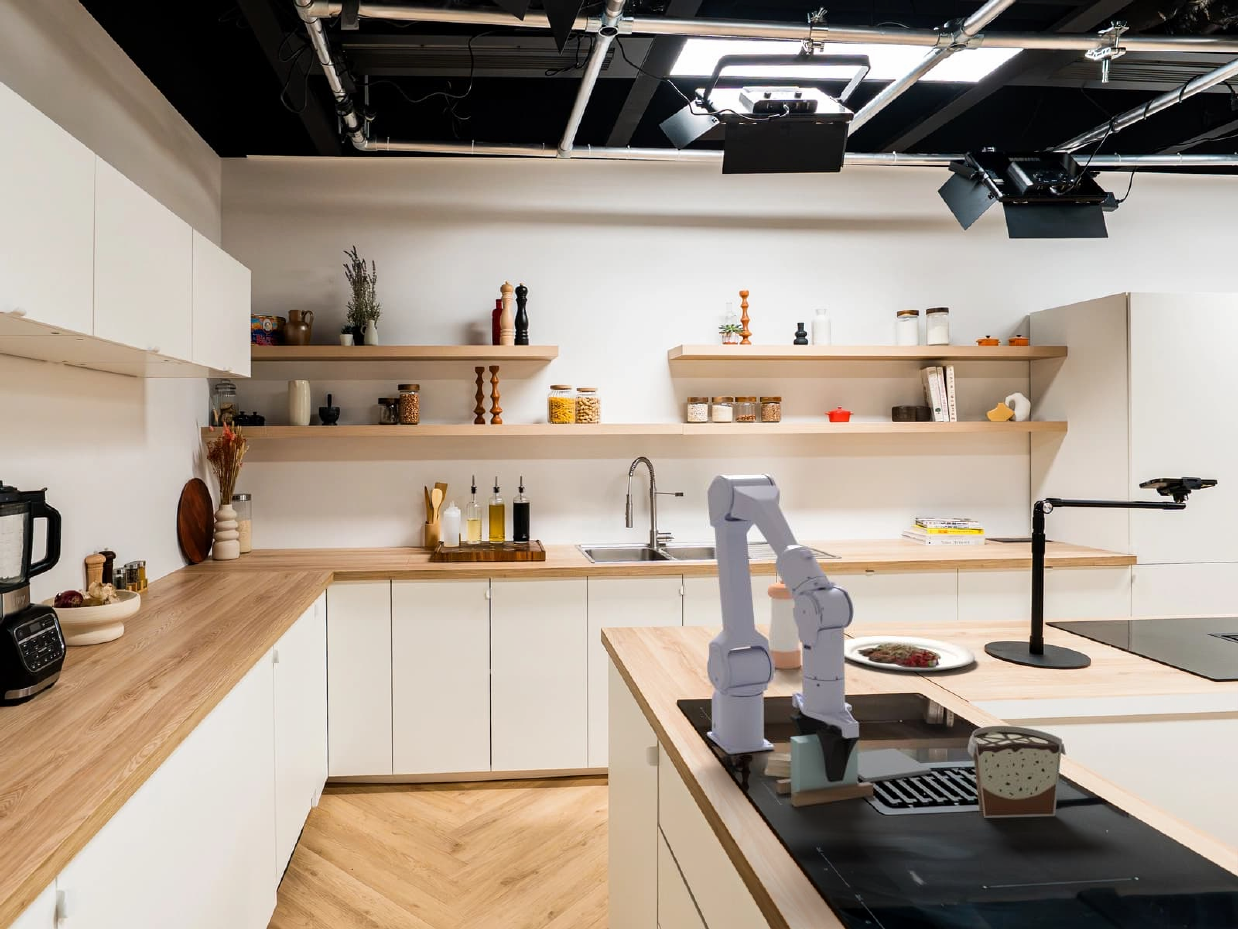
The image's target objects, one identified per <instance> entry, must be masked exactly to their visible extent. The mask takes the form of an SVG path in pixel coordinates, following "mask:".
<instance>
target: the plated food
mask: <svg viewBox="0 0 1238 929" xmlns="http://www.w3.org/2000/svg"><path fill="white" fill-rule="evenodd" d="M844 658H847V659H849V660H852V661H856V662H858V663H861V664H865V665H868V666H872V667H876V668H883V669H888V670H896V671H905V672H906V671H908V672H934V671H935V672H936V671H944V670H948V669H954V668H960V667H963V666H967V665H970V664H972V663H973V662H975V659H976V655H975V653H974V652H972V651H971V650H970V649H968V648H966V647H963V646H960V645H957V644H954V643H950V642H946V641H941V640H938V639H937V640H935V639H931V638H929V639H928V638H923V637H914V636H895V635H880V636H879V635H877V636H875V635H873V636H864V637H863V636H861V637H854V638H850V639H847V640H844Z"/></svg>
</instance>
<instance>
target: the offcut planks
mask: <svg viewBox="0 0 1238 929" xmlns="http://www.w3.org/2000/svg"><path fill="white" fill-rule="evenodd" d="M764 776H772V777H773V776H774V777H783V778H791V754H786V753H785V754H784V753H774V752H769V755H768V758H767V763H766V765H765V770H764Z"/></svg>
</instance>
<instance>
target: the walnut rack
mask: <svg viewBox="0 0 1238 929" xmlns="http://www.w3.org/2000/svg"><path fill="white" fill-rule="evenodd" d="M776 793H778V794H780V795H781V794H789V793H790V797H791V798H790V800H791V801H790V804H791V805H792V806H793V807H802V806H808V805H809V806H810V805H816V804H825V803H829V802H837V801H845V800H850V799H851V800H852V799H859V798H865V797H872V796H874V784H873V783H871V782H864V781H863V782H858V783H857V784H850V785H843V786H835V787H828V788H821V789H814V790H806V791H799V792H792V793H791V778H784V779H778V780H776Z"/></svg>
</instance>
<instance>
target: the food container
mask: <svg viewBox="0 0 1238 929" xmlns="http://www.w3.org/2000/svg"><path fill="white" fill-rule="evenodd" d="M967 752H968V754H969V755H970V757H972V758H973V761H974V762H973V763H974V771H975V780H976V781H975V782H976V790H977V800H978V806H979V807H978V809H979V812H980V815H981V816H982V817H983V819H987V818H988V819H989V818H990V819H991V818H992V819H993V818H994V819H995V818H1027V817H1028V818H1030V817H1034V818H1035V817H1055V816H1056V808H1057V797H1058V789H1059V777H1060V768H1061V767H1060V766H1061V758H1062V756H1061V755H1062V754H1063V755H1064V756H1066V755H1067V754H1066V748H1065V744H1064V743H1063V740H1062V738H1060V737H1059V736H1056V735H1054V734H1051V733H1049V732H1045V731H1041V730H1038V729H1034V728H1030V727H1029V728H1028V727H1023V726H1016V725H1015V726H1014V725H989V726H983V727H979V728H977V729H975V730H974V731H973V732H972V734H971V736H970V738H969V740H968V745H967Z"/></svg>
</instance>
